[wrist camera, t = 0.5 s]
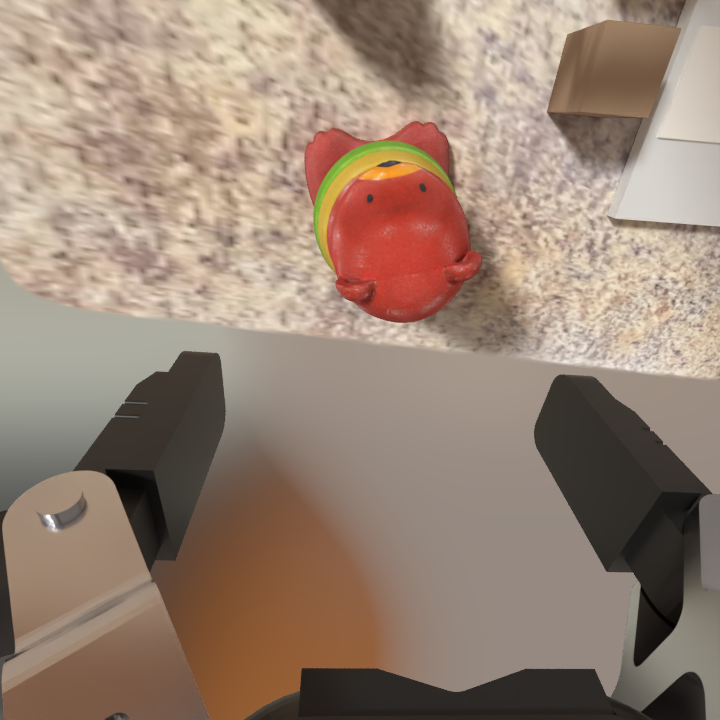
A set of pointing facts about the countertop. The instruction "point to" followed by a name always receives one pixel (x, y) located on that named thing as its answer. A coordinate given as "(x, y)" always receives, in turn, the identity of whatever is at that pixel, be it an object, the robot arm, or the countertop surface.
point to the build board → (680, 133)
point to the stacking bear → (390, 220)
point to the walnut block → (613, 69)
